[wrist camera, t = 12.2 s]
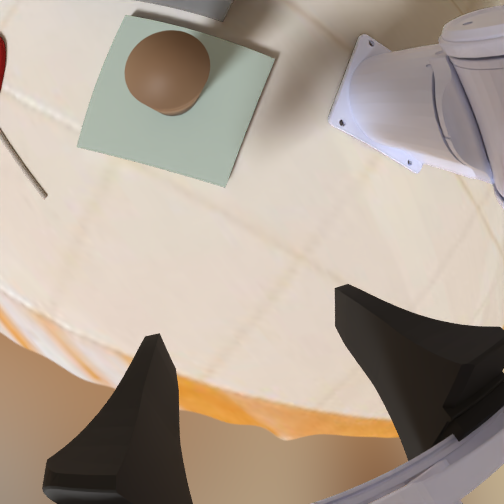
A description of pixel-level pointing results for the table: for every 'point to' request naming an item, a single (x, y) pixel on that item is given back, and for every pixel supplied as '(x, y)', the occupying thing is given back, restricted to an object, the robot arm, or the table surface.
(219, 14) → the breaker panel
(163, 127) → the pad
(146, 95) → the brown cylinder
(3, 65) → the lollipop
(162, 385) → the robot arm
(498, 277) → the table surface
